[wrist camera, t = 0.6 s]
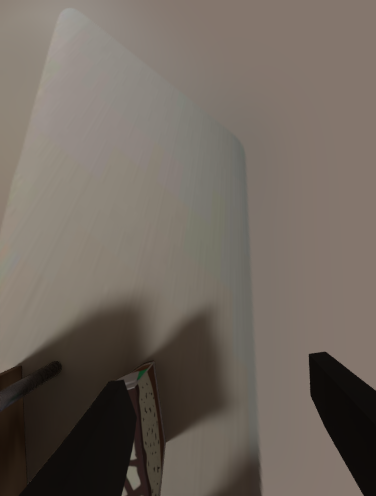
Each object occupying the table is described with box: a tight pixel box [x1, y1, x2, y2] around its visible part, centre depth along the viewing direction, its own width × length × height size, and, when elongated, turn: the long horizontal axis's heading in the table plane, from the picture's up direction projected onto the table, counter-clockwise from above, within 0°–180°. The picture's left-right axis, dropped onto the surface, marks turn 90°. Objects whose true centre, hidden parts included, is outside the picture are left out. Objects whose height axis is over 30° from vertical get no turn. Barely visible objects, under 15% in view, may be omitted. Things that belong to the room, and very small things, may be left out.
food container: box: [116, 361, 166, 496], centre depth 23 cm, size 12×6×10 cm, turn 10°
